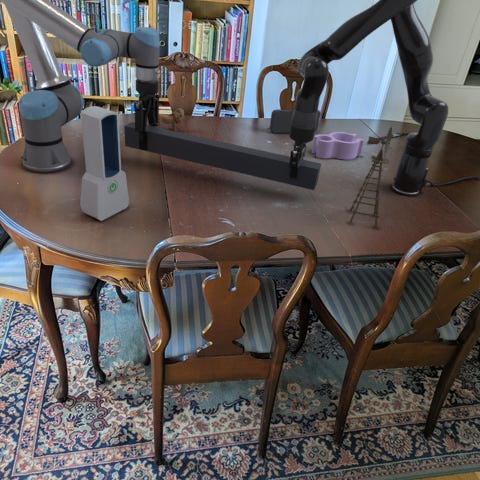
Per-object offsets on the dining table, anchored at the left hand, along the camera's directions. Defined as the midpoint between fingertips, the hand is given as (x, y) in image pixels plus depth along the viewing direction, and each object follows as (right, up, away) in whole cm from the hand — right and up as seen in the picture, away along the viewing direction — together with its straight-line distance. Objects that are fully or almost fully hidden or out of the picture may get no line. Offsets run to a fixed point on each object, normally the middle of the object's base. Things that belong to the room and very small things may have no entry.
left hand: (147, 146), depth 165 cm
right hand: (+51, -12, -13) cm, 54 cm away
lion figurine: (+2, +14, +33) cm, 36 cm away
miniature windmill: (+71, -27, -18) cm, 78 cm away
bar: (+25, -7, -6) cm, 27 cm away
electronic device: (-7, -25, -28) cm, 37 cm away
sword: (+101, +13, +49) cm, 113 cm away
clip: (+72, +2, +27) cm, 77 cm away
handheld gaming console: (+57, +15, +45) cm, 74 cm away
